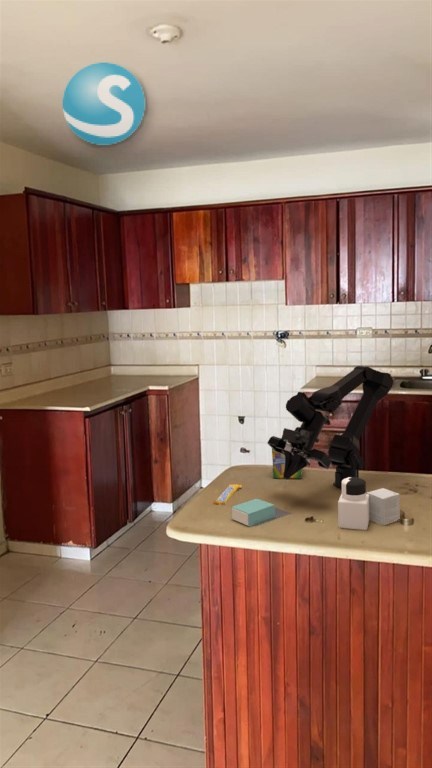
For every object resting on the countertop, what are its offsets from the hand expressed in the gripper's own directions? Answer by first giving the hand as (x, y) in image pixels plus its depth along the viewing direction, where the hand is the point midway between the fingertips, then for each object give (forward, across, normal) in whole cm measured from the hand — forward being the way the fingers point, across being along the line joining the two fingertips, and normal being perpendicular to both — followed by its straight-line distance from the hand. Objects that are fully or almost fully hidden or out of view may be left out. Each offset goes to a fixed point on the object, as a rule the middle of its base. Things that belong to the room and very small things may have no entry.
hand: (285, 478), depth 171 cm
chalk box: (-8, -17, +25) cm, 31 cm away
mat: (+12, 0, -1) cm, 12 cm away
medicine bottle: (+4, +22, +5) cm, 23 cm away
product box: (-1, +26, +10) cm, 28 cm away
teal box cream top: (+10, 0, -2) cm, 10 cm away
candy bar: (+10, -19, +5) cm, 22 cm away
